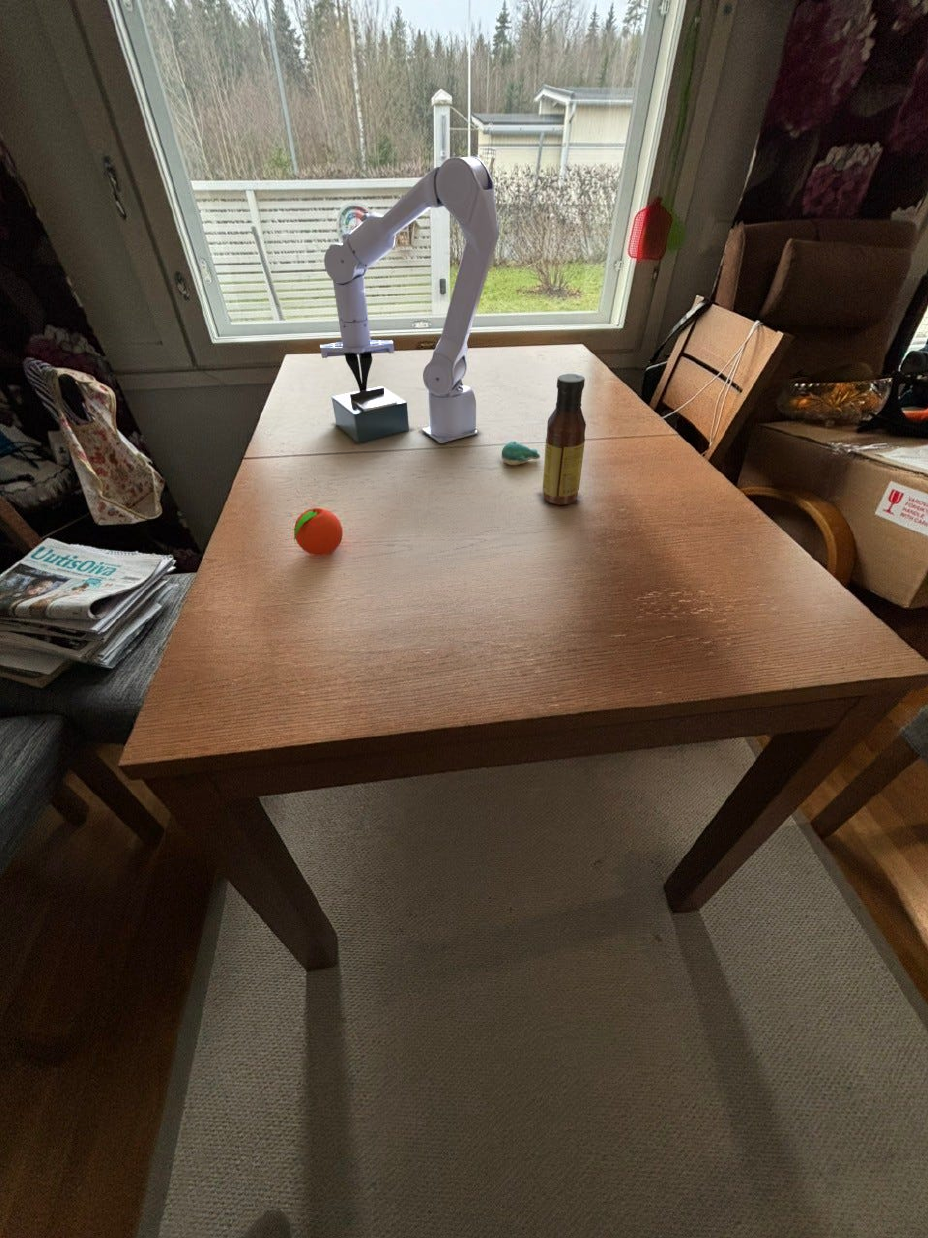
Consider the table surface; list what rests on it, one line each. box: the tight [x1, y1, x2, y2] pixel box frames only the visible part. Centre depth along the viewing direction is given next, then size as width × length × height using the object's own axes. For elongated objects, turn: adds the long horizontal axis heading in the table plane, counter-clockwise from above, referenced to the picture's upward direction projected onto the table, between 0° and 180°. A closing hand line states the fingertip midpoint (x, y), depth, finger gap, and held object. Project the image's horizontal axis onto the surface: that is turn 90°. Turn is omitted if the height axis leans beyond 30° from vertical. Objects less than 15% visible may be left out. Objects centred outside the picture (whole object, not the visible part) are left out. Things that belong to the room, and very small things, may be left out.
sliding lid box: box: [331, 385, 410, 444], centre depth 109 cm, size 12×12×6 cm
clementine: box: [293, 507, 344, 557], centre depth 74 cm, size 8×7×7 cm
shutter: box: [349, 386, 397, 412], centre depth 104 cm, size 8×7×2 cm
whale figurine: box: [501, 441, 541, 466], centre depth 97 cm, size 6×7×4 cm
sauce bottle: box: [541, 373, 587, 506], centre depth 81 cm, size 7×6×20 cm
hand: (363, 391), depth 107 cm, fingers closed
